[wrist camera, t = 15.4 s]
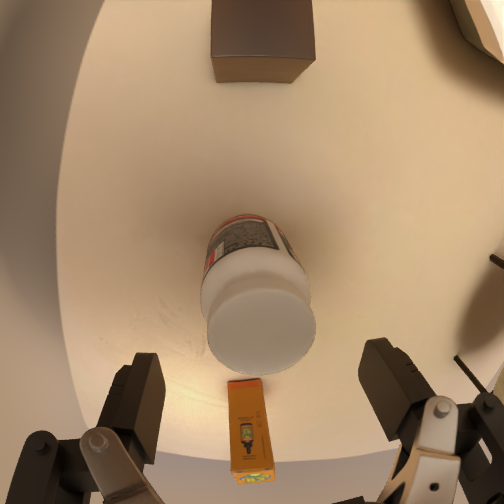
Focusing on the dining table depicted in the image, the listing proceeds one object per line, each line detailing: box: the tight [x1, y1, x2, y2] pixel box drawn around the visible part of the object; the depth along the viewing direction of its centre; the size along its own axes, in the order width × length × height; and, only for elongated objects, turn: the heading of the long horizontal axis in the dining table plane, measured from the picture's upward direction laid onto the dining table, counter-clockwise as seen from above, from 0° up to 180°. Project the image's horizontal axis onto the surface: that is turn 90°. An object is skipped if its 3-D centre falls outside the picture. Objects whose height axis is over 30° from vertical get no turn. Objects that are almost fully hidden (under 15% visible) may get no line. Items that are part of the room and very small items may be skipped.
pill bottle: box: [200, 215, 316, 375], centre depth 16 cm, size 6×6×10 cm
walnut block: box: [211, 0, 316, 83], centre depth 13 cm, size 5×5×6 cm
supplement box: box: [228, 379, 275, 484], centre depth 22 cm, size 3×3×10 cm
